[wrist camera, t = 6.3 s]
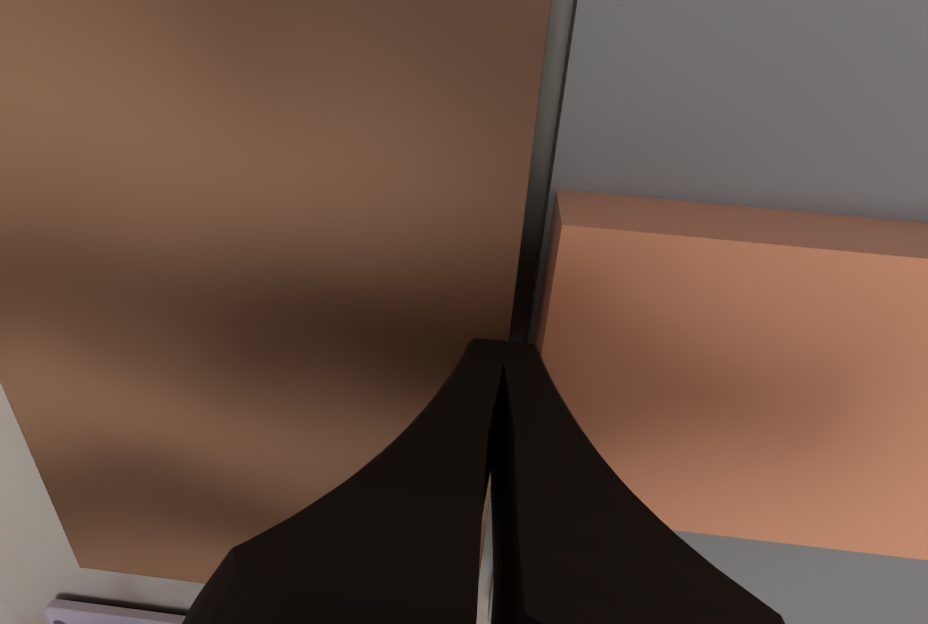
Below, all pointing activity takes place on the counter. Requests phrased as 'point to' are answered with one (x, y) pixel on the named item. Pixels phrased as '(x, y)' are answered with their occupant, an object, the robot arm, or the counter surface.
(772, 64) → the mat
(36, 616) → the counter surface
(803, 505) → the tile
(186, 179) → the deck
